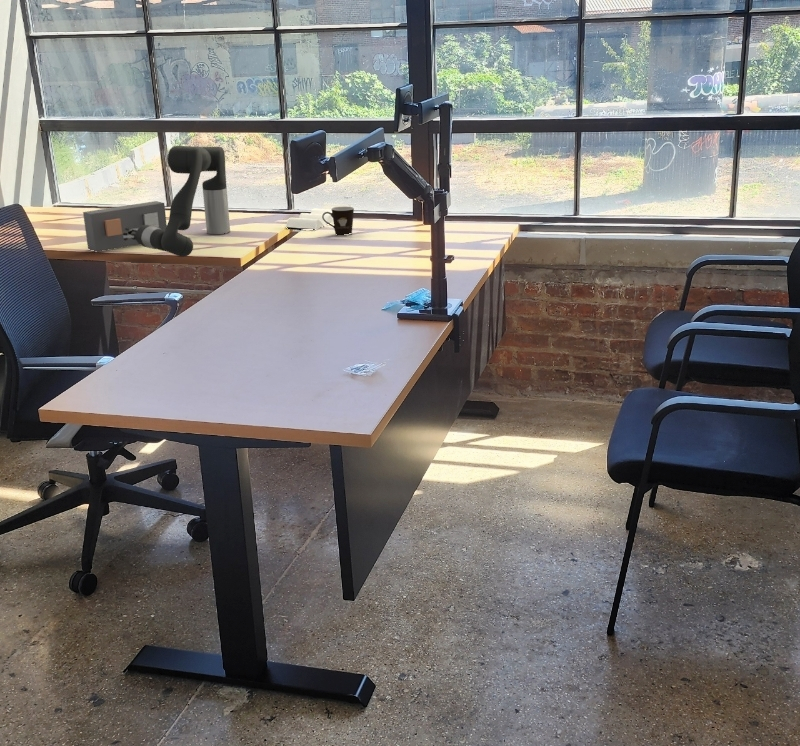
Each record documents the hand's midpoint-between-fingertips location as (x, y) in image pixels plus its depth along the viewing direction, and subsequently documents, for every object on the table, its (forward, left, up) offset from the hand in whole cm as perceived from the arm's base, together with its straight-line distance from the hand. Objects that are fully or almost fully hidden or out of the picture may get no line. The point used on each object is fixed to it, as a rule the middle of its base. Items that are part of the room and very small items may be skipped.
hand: (127, 230), depth 328 cm
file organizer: (-55, +63, -9) cm, 84 cm away
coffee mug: (-31, +74, -9) cm, 80 cm away
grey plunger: (-23, 0, -3) cm, 23 cm away
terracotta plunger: (-11, -10, -3) cm, 15 cm away
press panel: (-17, -5, -9) cm, 20 cm away
